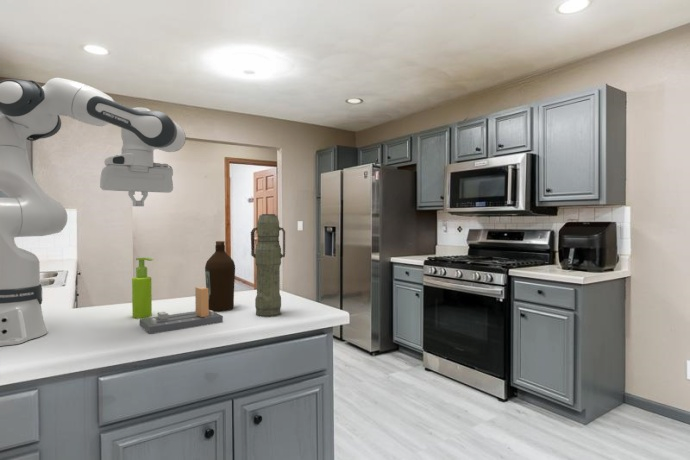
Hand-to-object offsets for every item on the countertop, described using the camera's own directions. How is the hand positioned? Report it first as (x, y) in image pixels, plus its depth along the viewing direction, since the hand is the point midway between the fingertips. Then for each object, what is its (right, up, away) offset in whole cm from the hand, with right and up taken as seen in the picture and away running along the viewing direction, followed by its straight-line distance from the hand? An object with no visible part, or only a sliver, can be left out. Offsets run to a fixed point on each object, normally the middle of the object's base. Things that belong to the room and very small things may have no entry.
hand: (138, 206), depth 128 cm
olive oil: (+18, -37, +25) cm, 48 cm away
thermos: (+37, -37, +17) cm, 55 cm away
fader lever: (+18, -35, +5) cm, 39 cm away
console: (+12, -37, +3) cm, 39 cm away
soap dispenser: (-5, -37, +13) cm, 39 cm away
